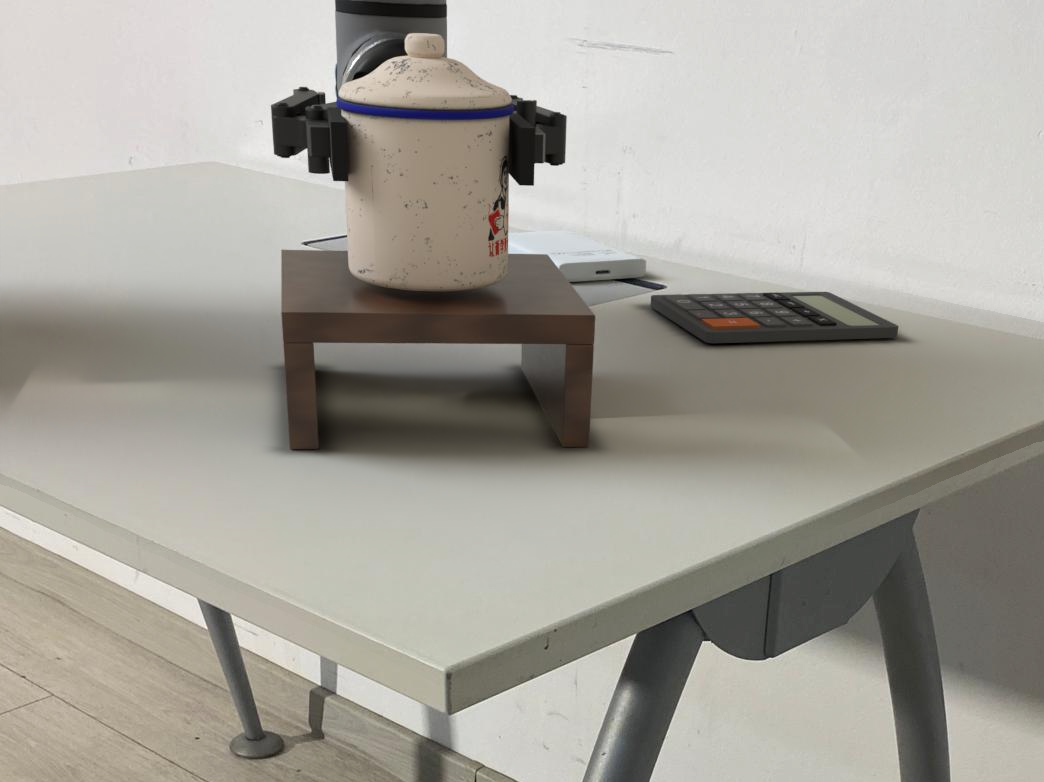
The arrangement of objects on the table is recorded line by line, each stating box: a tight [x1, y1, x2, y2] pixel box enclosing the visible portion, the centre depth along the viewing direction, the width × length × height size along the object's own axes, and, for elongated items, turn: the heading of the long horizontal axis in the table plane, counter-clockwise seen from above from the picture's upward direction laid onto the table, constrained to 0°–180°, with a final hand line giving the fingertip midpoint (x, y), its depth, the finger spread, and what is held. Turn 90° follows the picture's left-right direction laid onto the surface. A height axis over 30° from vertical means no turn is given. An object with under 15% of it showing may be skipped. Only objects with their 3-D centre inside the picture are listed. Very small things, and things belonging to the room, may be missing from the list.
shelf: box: [280, 249, 596, 450], centre depth 81 cm, size 16×16×7 cm
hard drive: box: [508, 230, 647, 283], centre depth 120 cm, size 2×8×12 cm
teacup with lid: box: [335, 33, 514, 291], centre depth 76 cm, size 12×9×12 cm
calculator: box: [649, 291, 900, 344], centre depth 105 cm, size 12×1×15 cm
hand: (434, 154), depth 72 cm, fingers closed on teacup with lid, 9 cm apart
